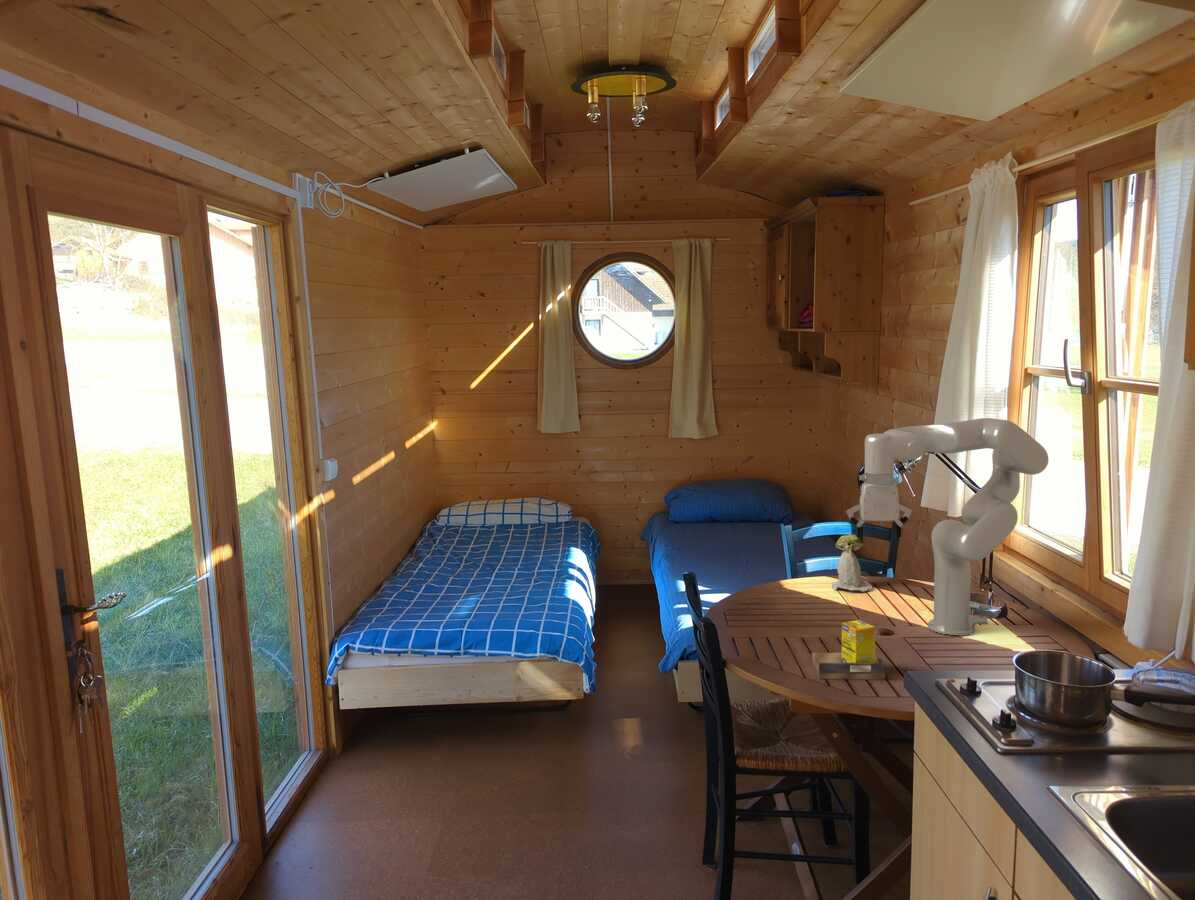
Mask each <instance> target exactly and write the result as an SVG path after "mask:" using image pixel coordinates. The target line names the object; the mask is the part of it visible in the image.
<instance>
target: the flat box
mask: <svg viewBox="0 0 1195 900" xmlns="http://www.w3.org/2000/svg"><path fill="white" fill-rule="evenodd" d="M811 659H812V662H813V664H814V668H815V670H816V671H815V672H816V673H817V678H818V679H819V680H877V681H878V680H879V681H880V680H881V681H883V680H885V681H886V663H885V662H880V661H879V660H878V657H877V656H876V655H875V663H842V652H812V653H811Z"/></svg>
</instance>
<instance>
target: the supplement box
mask: <svg viewBox="0 0 1195 900" xmlns="http://www.w3.org/2000/svg"><path fill="white" fill-rule="evenodd" d="M875 651H876V626H874V625H871V624H869V623H868V622H865V621H863V620H861V619H856V620H852V621H847V622H845V621H844V622H842V623H841V653H842V663H875V656H876V652H875Z"/></svg>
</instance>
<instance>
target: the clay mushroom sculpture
mask: <svg viewBox="0 0 1195 900" xmlns="http://www.w3.org/2000/svg"><path fill="white" fill-rule="evenodd" d="M865 543H866V541H865V539H864V536H863V541H860V540H859V539H858V538H857V537H856V534H853V533H852V534H850V533H849V534H847V535H846V534H845V535H841V536H840V537H839V538H838V540H837V541H836V543H835V548H836V549H839V550H841V551H842V552H841V555H840V558H839V559H838V562H837V564H836V565H837V573H838V579H837V581H832V583H831V588H832V590H837V589H843V590H844V589H845V590H849V591H851V592H855V591H860V592H862V593H864V592H868V591H870V592H871V591H872V590H873V585H872V584H871V583H869V581H865V580H861V578H862V573H861V566H860V563H859V561H858V560H859V559H858V558H857V556H856V554H855V553H854V551H857V550H859V549H861V547H862V546H863V545H865Z"/></svg>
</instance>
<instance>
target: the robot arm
mask: <svg viewBox="0 0 1195 900" xmlns="http://www.w3.org/2000/svg"><path fill="white" fill-rule="evenodd" d="M983 449H985V450H986V449H989V450H992V456H991V459H992V472H991V474H990V475H991V476H990V478H989V479H988V480H987V481H986V482H985V484H984V485H983V486H982V487H981V488H979V490H978V491H977V492H976V493H974V494H973V496H971V497H970V498H969V499H968V501H966V502H965V503H964V505H963V506H962V509H961V513H960V514H961V517H962V520H963V521H964V522H962V521H959V520H955V519H944V520H941V521H939V522H938V523H936V525H935V526H933V529H932V531H931V545H932V550H933V561H934V576H933V577H934V579H933V580H934V583H933V585H934V586H933V587H934V589H933V619H930V620H929V621H928V622H927V627H929V628H928V629H931V631H932V630H933V631H932V632H934V631H935V632H934V633H936V632H938V634H940V633H942V634H941V635H944V634H950V635H949V636H951V635H964V636H967V635H966V634H970V633H972V634H974V633H975V632H976V625H988V624H989V623H988V621H989V619H988V617H986V616H985V617H984V616H982V617H981V615H975V614H974V615H973V614H971V613H970V612H971V578H972V577H971V576H972V575H971V574H972V573H971V571H972V569H971V564H970V563H971V562H974V563H975V562H980V561H982V560H983V559H985V558H986V557H987V556H989V555H990V554H991V553H992V552H993V551H994V550H995V549H996V548H997V547H998V546H999V545H1000V544H1001V543H1002V542H1003V541H1005V539H1006V538H1007V537H1009V535H1011V534H1012V532H1013V531H1014V529H1015V528H1016V526H1017V523H1018V518H1019V517H1018V511H1017V509H1016V506H1014V505H1013V504H1012V502H1013V501H1014V500H1015V499H1016V498H1017V496H1018V495H1019V492H1020V488H1021V482H1020V481H1021V480H1020V477H1021V476H1020V474H1024V475H1031V476H1032V475H1033V476H1034V475H1038V474H1041V473H1042V472H1043V471H1044V470H1046V468H1047V467H1048V464H1049V454H1048V452H1047V450H1046V449H1045V447H1044V446H1043V445H1042V444H1040V442H1038V441H1037V440H1036V439H1035V438H1033V437H1032V436H1031V435H1030V434H1029V433H1028V432H1027V431H1025V430H1024V429H1023V428H1021V427H1020V426H1019V425H1018V424H1016V423H1015V422H1014V421H1010V420H1007V419H1001V418H1000V419H999V418H995V417H993V418H992V417H982V418H975V419H970V420H962V421H956V422H955V421H954V422H946V423H935V424H925V425H924V424H922V425H911V426H904V427H898V428H890V429H888V430H886V431H884V432H883V433H872V434H871V433H870V434H868V435H866V436H865V438H864V472H863V474H859V475H858V477H859V481H863V482H862V484H861V488H860V495H859V503H858V504H857V505H855V506H853V507H851V508H850V507H849V509H847V510H846V511H845V513H846V514H847V517H848V518H849V520H850V521H851V523H853V525H855V527H856V528H855V530H856V532H855V533H856V534H855V535H856V537H857V538H858V539H859V540H860V541H863V539H864V538H863V537H864V527H863V524H864V523H865V522H894V523H895V524H894V526H893V538H894V539H895V541H897V542H900V538H902V527H903V526H904V525H905V523H906V522H907V521H908V520H909V518H910V517H911V514H912V512H913V511H912V509H910V508H908V507H906V506H904V505H902V504H900V498H899V489H898V486H897V484H896V483H894V473H895V472H894V471H895V470H894V469H895V468H894V465H895V464H894V462H895V460H897V461H898V460H899V461H900V460H901V461H914V460H916V459H919V458H921V457H922V456H923V454H924V453H926V452H927V453H936V454H957V453H963V452H969V451H976V450H983ZM900 511H901V512H904V514H903V516H900ZM856 512H858V514H859V517H858V518H855V516H854V513H856ZM974 631H975V632H974ZM973 632H974V633H973ZM970 635H971V634H970Z"/></svg>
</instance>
